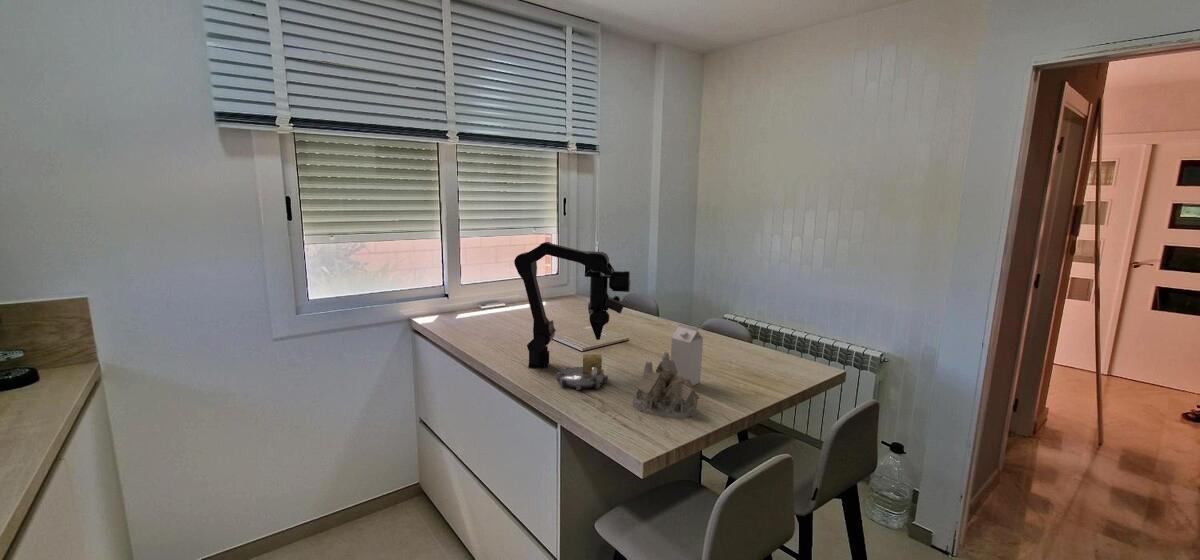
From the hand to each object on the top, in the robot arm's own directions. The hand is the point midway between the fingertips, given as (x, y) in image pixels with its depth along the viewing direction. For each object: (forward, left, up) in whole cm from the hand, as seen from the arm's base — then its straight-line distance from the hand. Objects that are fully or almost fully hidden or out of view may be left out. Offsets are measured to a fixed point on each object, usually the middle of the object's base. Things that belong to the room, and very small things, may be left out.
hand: (597, 335), depth 161 cm
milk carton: (+28, -11, -12) cm, 32 cm away
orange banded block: (-2, -8, -10) cm, 12 cm away
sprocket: (-5, -11, -12) cm, 17 cm away
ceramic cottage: (+18, -29, -12) cm, 37 cm away
